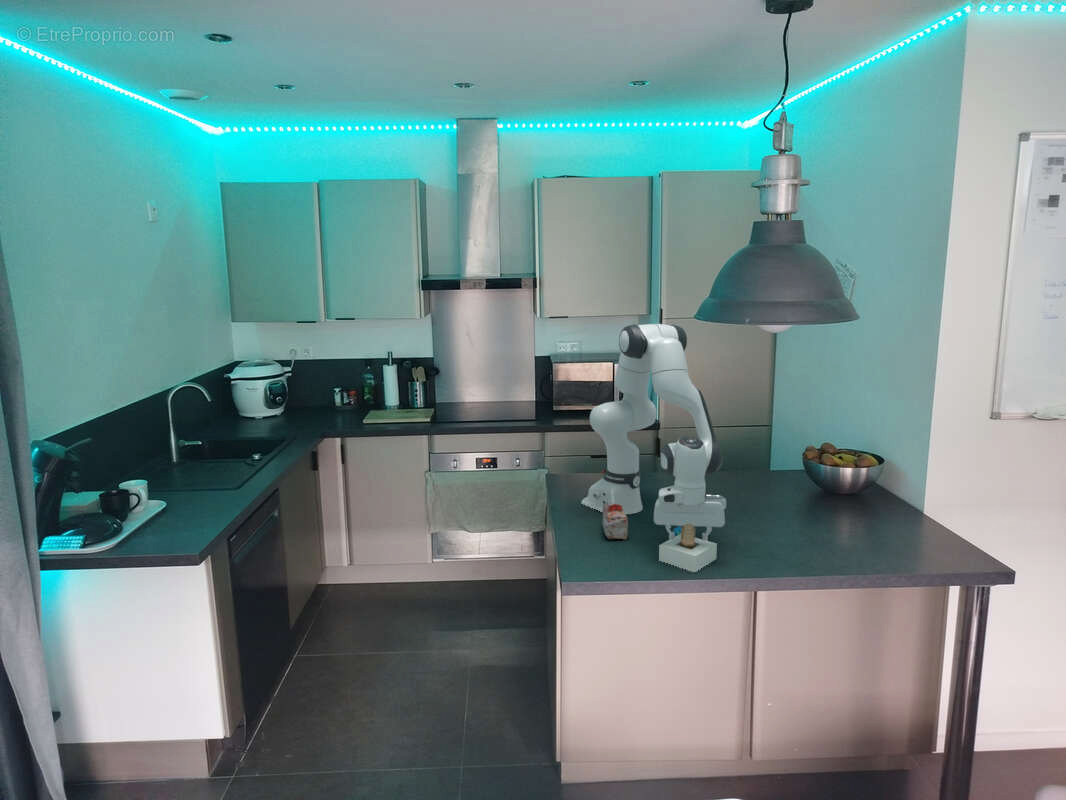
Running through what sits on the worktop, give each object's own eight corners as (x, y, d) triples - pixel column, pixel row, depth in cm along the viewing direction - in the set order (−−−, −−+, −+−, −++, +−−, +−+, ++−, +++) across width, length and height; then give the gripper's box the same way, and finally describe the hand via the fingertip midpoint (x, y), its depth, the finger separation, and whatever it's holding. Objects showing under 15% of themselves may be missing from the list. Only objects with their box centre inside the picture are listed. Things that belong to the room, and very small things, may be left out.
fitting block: (658, 561, 210) (659, 545, 209) (680, 548, 218) (681, 533, 217) (694, 572, 202) (695, 556, 201) (716, 559, 210) (716, 543, 209)
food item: (630, 541, 225) (630, 511, 223) (605, 542, 225) (605, 512, 223) (622, 525, 238) (622, 497, 236) (598, 526, 238) (598, 498, 236)
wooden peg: (677, 560, 210) (678, 522, 208) (685, 556, 213) (686, 518, 211) (689, 564, 207) (690, 525, 205) (696, 560, 210) (698, 521, 208)
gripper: (725, 491, 208) (723, 536, 210) (653, 489, 211) (653, 533, 213) (727, 498, 202) (726, 545, 204) (654, 496, 205) (653, 541, 207)
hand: (688, 539), depth 209 cm, fingers open, 8 cm apart
